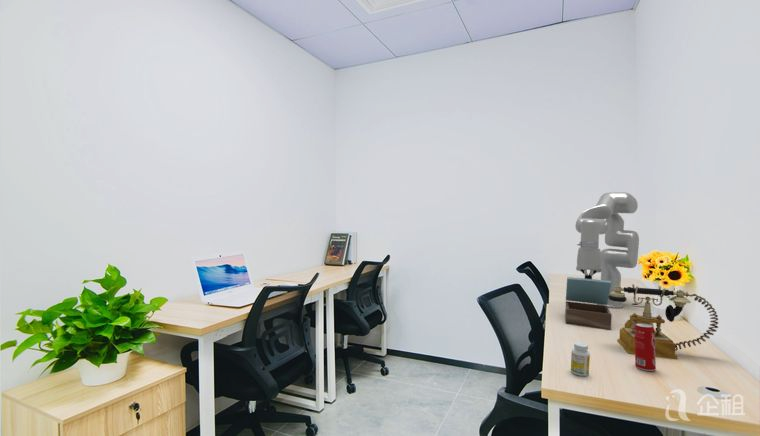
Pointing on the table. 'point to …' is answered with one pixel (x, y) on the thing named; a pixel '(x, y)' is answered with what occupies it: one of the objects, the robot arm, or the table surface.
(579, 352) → the supplement bottle
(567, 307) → the storage box
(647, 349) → the beverage can
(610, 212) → the robot arm
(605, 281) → the lid
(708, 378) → the table surface
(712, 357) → the table surface
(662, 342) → the rotary telephone
